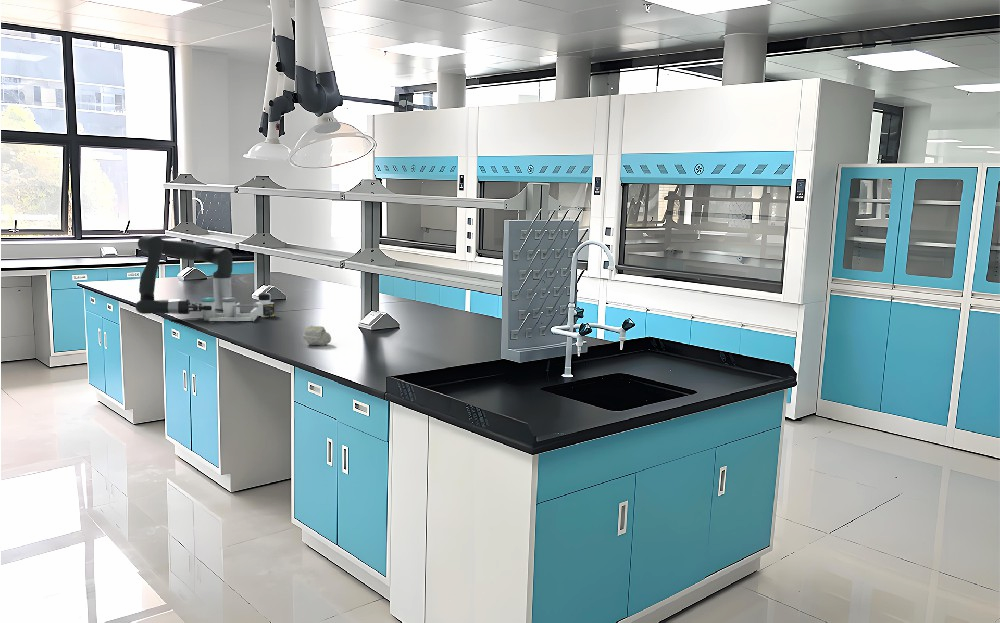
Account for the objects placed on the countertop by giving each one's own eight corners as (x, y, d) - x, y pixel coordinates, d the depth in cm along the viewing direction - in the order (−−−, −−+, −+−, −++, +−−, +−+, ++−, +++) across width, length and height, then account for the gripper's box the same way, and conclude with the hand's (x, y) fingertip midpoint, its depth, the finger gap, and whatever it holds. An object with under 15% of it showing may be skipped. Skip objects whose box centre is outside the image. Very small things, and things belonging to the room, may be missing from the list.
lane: (215, 316, 397) (215, 307, 396) (257, 316, 400) (257, 307, 400) (208, 322, 381) (208, 312, 381) (252, 322, 385) (252, 312, 384)
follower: (238, 317, 396) (237, 302, 395) (260, 317, 398) (259, 302, 396) (234, 321, 386) (234, 305, 385) (257, 321, 388) (256, 305, 387)
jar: (204, 318, 392) (203, 297, 390) (217, 318, 393) (216, 297, 391) (201, 320, 385) (200, 299, 384) (214, 320, 386) (213, 299, 385)
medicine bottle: (263, 317, 399) (262, 294, 397) (255, 315, 403) (254, 293, 401) (274, 315, 404) (274, 293, 403) (266, 314, 409) (266, 292, 407)
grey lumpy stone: (331, 347, 334) (329, 344, 343) (332, 328, 333) (330, 326, 343) (303, 346, 330) (301, 343, 339) (304, 327, 329) (302, 324, 339)
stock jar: (224, 318, 393) (223, 297, 391) (237, 318, 394) (236, 297, 392) (221, 320, 387) (221, 299, 385) (234, 320, 388) (234, 299, 386)
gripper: (175, 301, 378) (209, 301, 381) (182, 297, 392) (216, 297, 395) (175, 316, 379) (210, 316, 382) (183, 311, 393) (216, 311, 396)
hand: (213, 306), depth 388 cm, fingers open, 7 cm apart
